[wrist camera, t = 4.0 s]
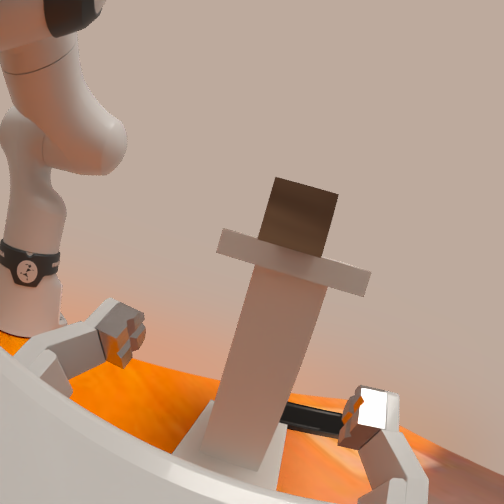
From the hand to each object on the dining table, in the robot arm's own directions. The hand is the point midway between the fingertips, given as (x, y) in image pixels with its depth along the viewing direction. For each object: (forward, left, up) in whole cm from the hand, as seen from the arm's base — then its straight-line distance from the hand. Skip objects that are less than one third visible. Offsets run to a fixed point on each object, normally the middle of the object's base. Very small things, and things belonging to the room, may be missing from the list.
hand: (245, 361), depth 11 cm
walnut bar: (-11, +13, +4) cm, 17 cm away
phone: (-17, +34, -22) cm, 44 cm away
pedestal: (-15, +18, -22) cm, 32 cm away
